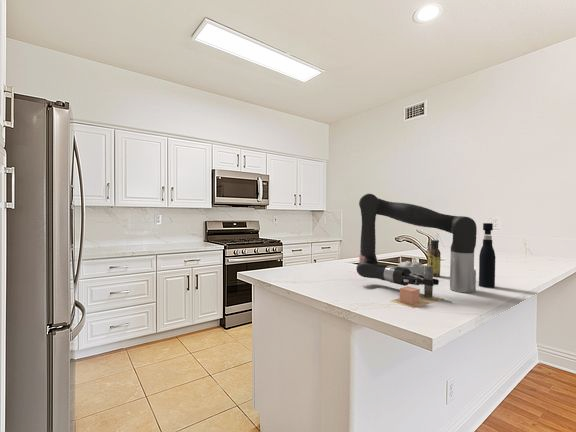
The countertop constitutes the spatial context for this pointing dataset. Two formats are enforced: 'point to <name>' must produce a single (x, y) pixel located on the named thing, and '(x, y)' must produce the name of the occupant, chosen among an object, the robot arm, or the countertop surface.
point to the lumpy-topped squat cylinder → (413, 267)
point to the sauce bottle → (434, 258)
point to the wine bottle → (487, 259)
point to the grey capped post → (428, 292)
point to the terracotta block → (409, 295)
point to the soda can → (362, 259)
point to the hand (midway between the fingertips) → (435, 282)
